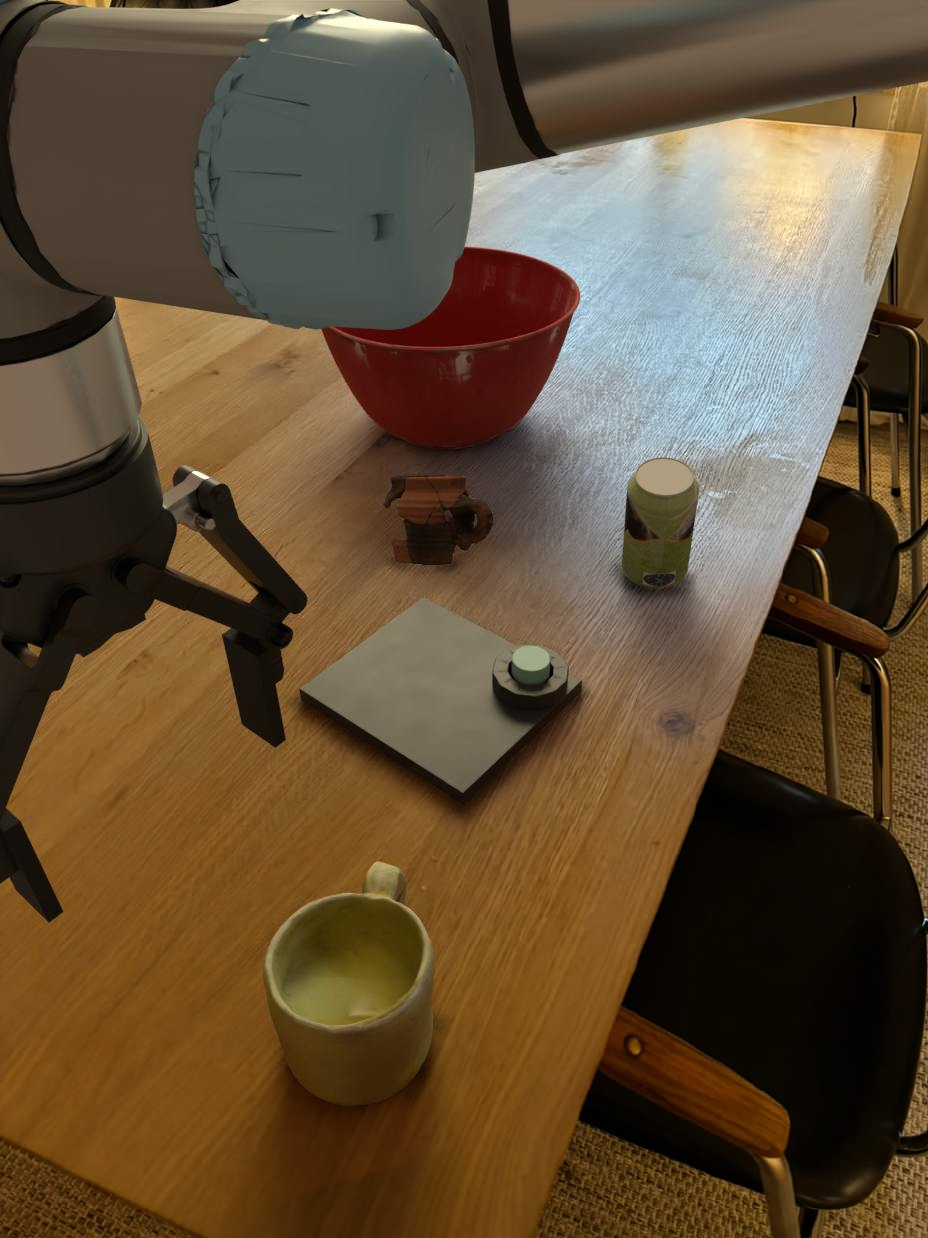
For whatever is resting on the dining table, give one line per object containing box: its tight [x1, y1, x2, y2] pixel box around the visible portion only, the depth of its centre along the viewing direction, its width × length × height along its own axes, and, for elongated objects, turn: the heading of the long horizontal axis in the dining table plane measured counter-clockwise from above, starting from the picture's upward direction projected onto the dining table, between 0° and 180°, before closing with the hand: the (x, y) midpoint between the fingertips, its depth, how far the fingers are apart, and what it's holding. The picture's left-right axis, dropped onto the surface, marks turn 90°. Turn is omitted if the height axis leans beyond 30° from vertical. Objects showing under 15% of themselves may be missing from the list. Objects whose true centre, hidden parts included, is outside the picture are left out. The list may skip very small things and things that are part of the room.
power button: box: [512, 646, 550, 685], centre depth 78 cm, size 3×3×2 cm
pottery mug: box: [382, 474, 495, 567], centre depth 95 cm, size 12×10×8 cm
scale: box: [298, 596, 583, 806], centre depth 79 cm, size 17×15×3 cm
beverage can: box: [621, 456, 700, 589], centre depth 88 cm, size 6×7×12 cm
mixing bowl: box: [320, 246, 581, 450], centre depth 110 cm, size 28×28×16 cm
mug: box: [262, 860, 435, 1107], centre depth 57 cm, size 12×10×10 cm
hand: (160, 810), depth 49 cm, fingers open, 13 cm apart
